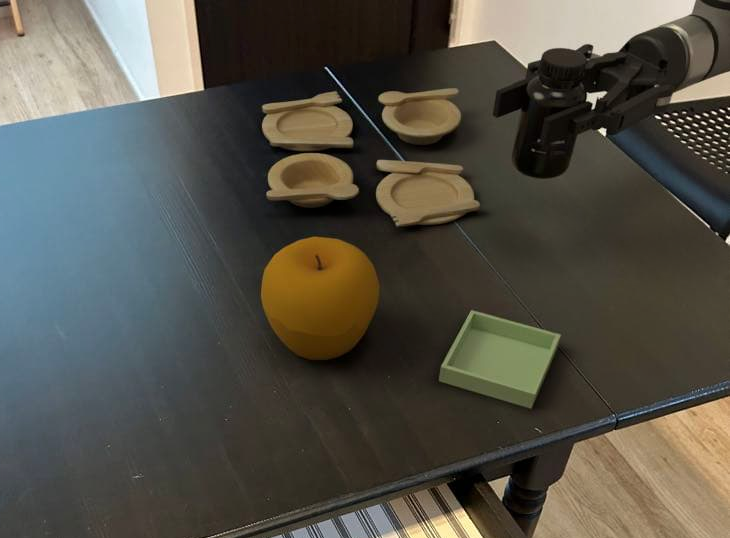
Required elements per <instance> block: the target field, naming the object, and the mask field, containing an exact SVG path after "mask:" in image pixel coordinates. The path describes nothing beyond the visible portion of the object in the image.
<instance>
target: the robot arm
mask: <svg viewBox="0 0 730 538" xmlns="http://www.w3.org/2000/svg"><path fill="white" fill-rule="evenodd" d="M575 50H576V51H578V52H580V53H582V54H583V55H584V56H585V57H586V59H587V62H586V67H585V71H584V77H583V80H582V81H581V82H582V83H583V84H584V86H585V88H586V91H587V94H596V93H603V92H604V93H605V92H606V93H605V94H604V95H603V96H602V97H599V96H597V98H596V100H595V104H594V103H593V102H591V101H589V100H586V102H584V103H581V104H579V105H576V106H574V107H571V108H569V109H566V110H564V111H561V112H559V113H556V114H554V115H551V116H549V117H546V118H545V119H544V124H543V128H542V133H541V138H540V144H541V145H543V146H546V145H548V144H551V143H553V142H555V141H558V140H560V139H563V138H565V137H567V136H570V135H572V134H574V135H577V134H578V135H581V134H583V133H585V132H588V131H590V130H592V131H600V130H601V129H605V134H607V135H609V136H616V135H618V134H620V133H621V132H623V131H625V130H627V129H628V128H630V127H632V126H635V125H636V124H637V123H640V122H641V121H643V120H645V119H646V118H648V117H650V116H652V115H655V114H659V113H663V112H667V111H668V110H669V106H670V104H671V100H672V98H673V94H675V93H677V92H679V91H682V90H685V89H687V88H688V87H691V86H694V85H695V84H696V85H697V84H699V83H701V82H704V81H707V80H710V79H712V78H714V77H717V76H720V75H722V74H725V73H729V72H730V0H695V2H694V5H693V8H692V11H691V13H690V14H688V15H685V16H683V17H680V18H677V19H675V20H674V19H673V20H671V21H668V22H665V23H664V24H660V25H658V26H657V27H654V28H653V27H652V29H648V30H646V31H643V32H640V33H636V34H635V35H634V36H632V37H631V38H630V39H628V40H627V41H626V42H625V43H624V45H623V46H622V47H621V48H620V49H619V50H618V51H615V52H606V53H604V54H602V55H600V54H596V53H595V52H593V51H594V45H593V44H590V43H586V44H583V45H580V47H578V48H577V49H575ZM540 62H541V59H539V60H534V61H531V62H528V64H527V68H526V73H525V78H523V79H520V80H518V81H516V82H513V84H510V85H508V86H505V87H503V88H499V89H498V90H496V91H495V97H494V104H493V109H492V116H493V117H494V118H497V119H498V118H501V117H504V116H507V115H508V114H511V113H514V112H517V111H519V110H521V108H522V103H523V98H524V93H525V89H526V87H527V85H528V83H529V82H530V81H531V80H532V79H533V78H535V77H536V76H538V68H539V66H540ZM593 105H594V106H593ZM593 107H594V108H593ZM578 135H577V136H578Z"/></svg>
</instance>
